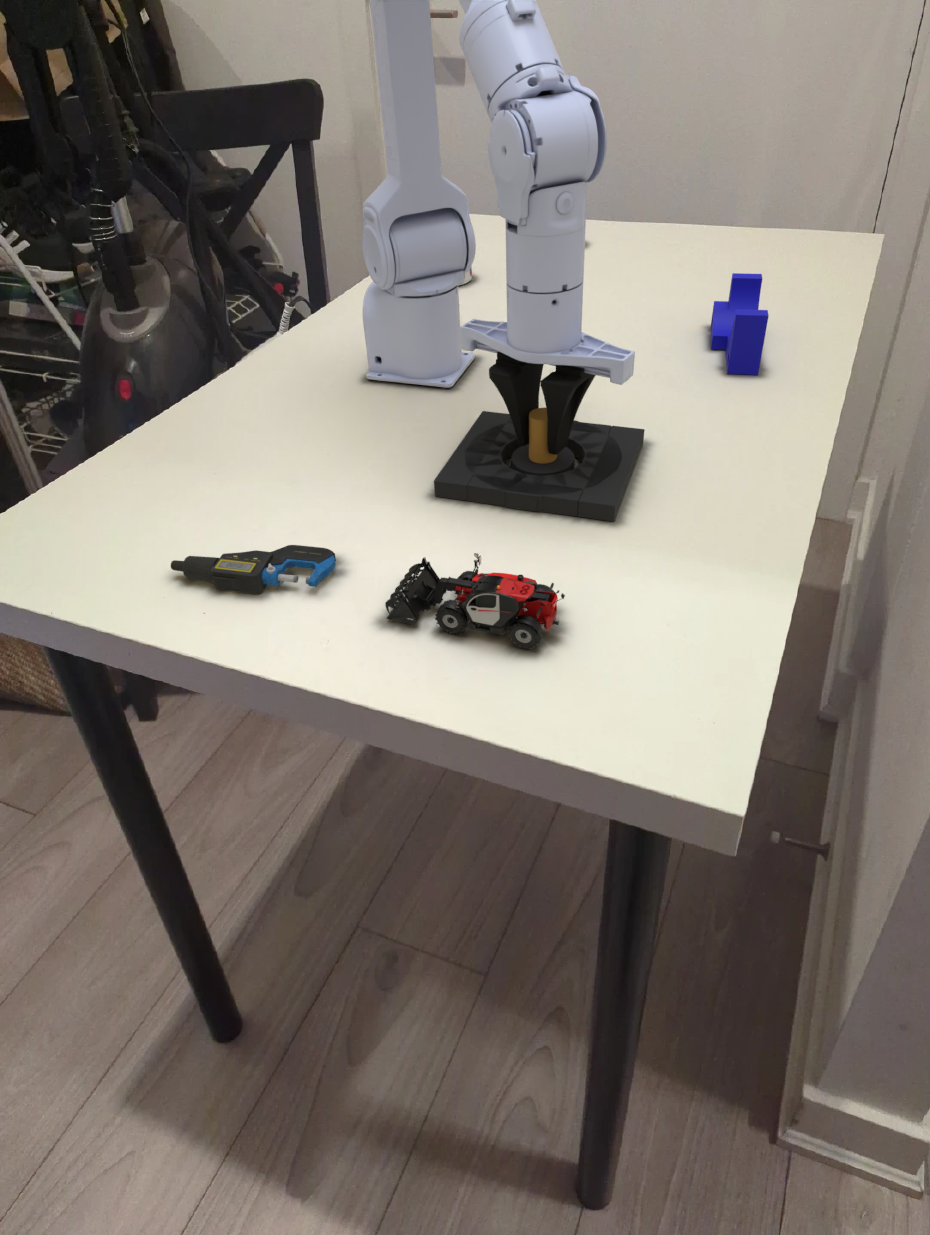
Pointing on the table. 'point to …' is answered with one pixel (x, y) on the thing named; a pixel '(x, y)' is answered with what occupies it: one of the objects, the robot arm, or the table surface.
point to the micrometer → (258, 568)
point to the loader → (478, 602)
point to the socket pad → (570, 493)
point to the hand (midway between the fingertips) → (542, 444)
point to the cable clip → (740, 325)
